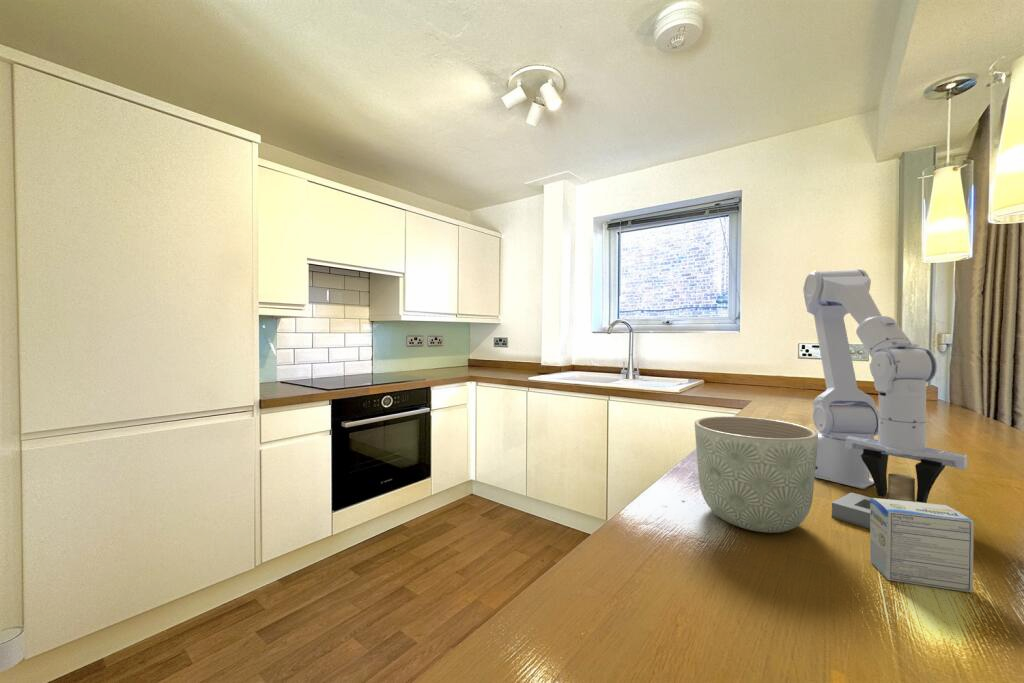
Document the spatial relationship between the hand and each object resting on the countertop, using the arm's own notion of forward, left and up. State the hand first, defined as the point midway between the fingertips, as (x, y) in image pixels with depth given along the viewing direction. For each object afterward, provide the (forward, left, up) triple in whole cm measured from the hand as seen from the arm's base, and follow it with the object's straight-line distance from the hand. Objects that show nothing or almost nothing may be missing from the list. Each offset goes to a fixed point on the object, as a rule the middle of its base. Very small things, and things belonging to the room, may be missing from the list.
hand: (901, 500), depth 67 cm
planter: (-12, -24, -2) cm, 27 cm away
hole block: (-1, -8, -2) cm, 8 cm away
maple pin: (0, 0, -2) cm, 2 cm away
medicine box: (+7, -23, -2) cm, 24 cm away
